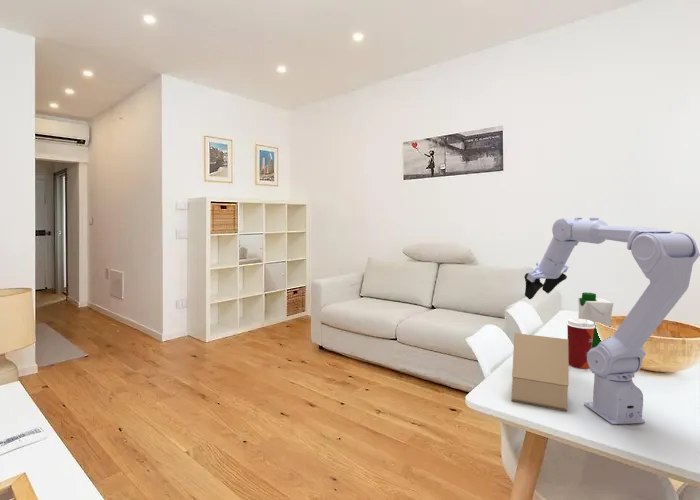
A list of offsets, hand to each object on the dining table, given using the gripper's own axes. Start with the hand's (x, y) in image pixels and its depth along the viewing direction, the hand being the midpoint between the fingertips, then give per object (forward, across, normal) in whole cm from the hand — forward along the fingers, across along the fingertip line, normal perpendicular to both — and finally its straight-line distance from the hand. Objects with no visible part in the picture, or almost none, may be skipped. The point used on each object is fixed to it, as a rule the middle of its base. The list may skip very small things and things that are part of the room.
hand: (536, 294), depth 116 cm
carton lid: (+1, +18, +18) cm, 25 cm away
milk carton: (+24, -27, +12) cm, 38 cm away
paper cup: (+19, -11, +16) cm, 28 cm away
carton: (+11, +18, +22) cm, 30 cm away
